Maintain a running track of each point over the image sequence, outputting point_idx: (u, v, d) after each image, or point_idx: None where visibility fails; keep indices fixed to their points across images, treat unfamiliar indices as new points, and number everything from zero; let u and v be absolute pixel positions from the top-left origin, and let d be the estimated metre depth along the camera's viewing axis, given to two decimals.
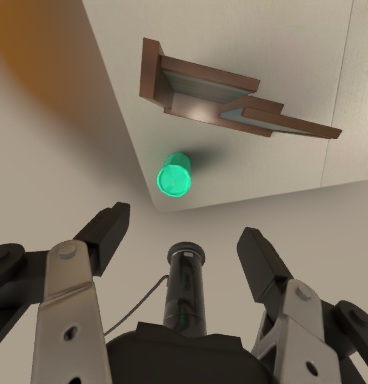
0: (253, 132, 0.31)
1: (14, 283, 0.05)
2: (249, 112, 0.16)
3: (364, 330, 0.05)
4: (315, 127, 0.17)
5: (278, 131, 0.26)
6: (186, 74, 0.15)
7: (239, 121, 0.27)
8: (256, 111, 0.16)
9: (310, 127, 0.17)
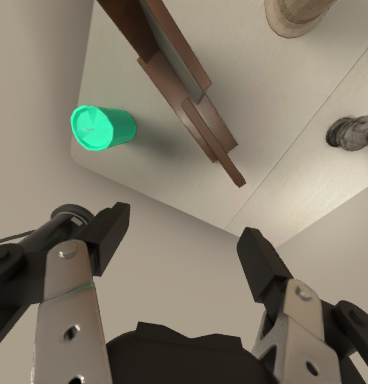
0: (203, 148, 0.31)
1: (14, 283, 0.05)
2: (187, 106, 0.15)
3: (364, 330, 0.05)
4: (230, 165, 0.17)
5: (218, 160, 0.27)
6: (148, 6, 0.12)
7: None
8: (193, 110, 0.15)
9: (226, 162, 0.17)
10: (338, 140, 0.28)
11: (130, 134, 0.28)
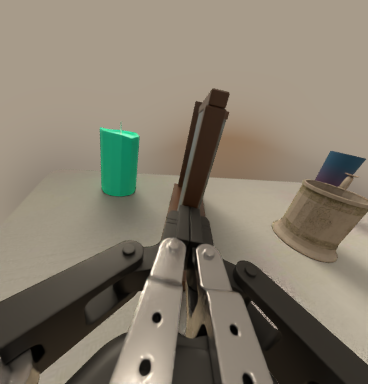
0: None
1: (142, 272, 0.06)
2: None
3: (248, 281, 0.06)
4: None
5: None
6: None
7: (179, 204, 0.20)
8: None
9: None
10: None
11: (121, 180, 0.26)
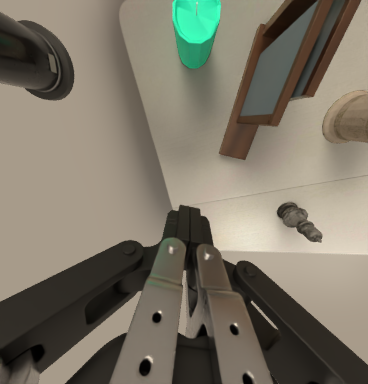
0: (226, 138, 0.33)
1: (142, 272, 0.06)
2: (327, 1, 0.14)
3: (248, 281, 0.06)
4: (287, 97, 0.17)
5: (244, 116, 0.27)
6: (347, 3, 0.14)
7: (257, 73, 0.26)
8: (325, 12, 0.14)
9: (288, 91, 0.17)
10: (285, 212, 0.39)
11: (198, 62, 0.26)
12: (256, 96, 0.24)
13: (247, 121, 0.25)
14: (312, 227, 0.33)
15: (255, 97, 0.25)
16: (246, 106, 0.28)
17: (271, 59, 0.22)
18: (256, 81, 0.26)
